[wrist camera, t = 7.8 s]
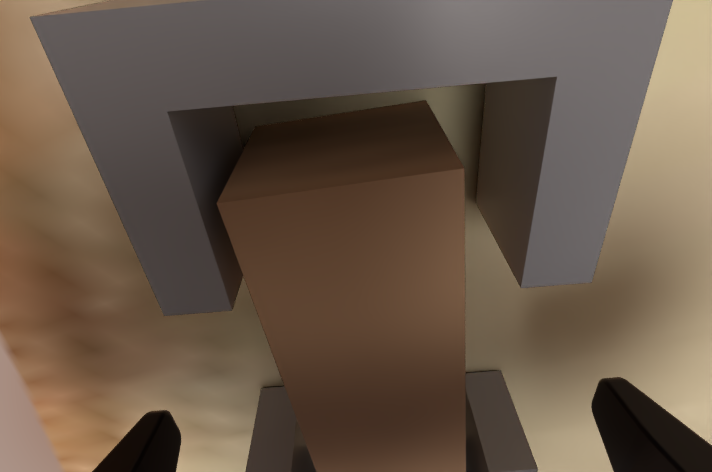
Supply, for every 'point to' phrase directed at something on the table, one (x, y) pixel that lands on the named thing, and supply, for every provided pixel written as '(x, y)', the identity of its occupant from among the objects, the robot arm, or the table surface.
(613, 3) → the end cap
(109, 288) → the table surface
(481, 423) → the end cap
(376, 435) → the slat
